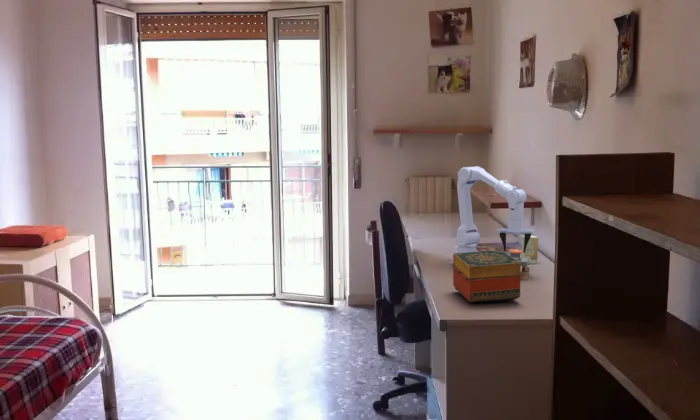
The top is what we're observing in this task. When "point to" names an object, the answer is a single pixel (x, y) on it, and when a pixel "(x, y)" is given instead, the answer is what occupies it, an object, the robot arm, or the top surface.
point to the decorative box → (486, 276)
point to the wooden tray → (525, 273)
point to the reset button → (515, 253)
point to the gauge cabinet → (523, 262)
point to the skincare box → (530, 250)
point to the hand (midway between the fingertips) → (514, 251)
